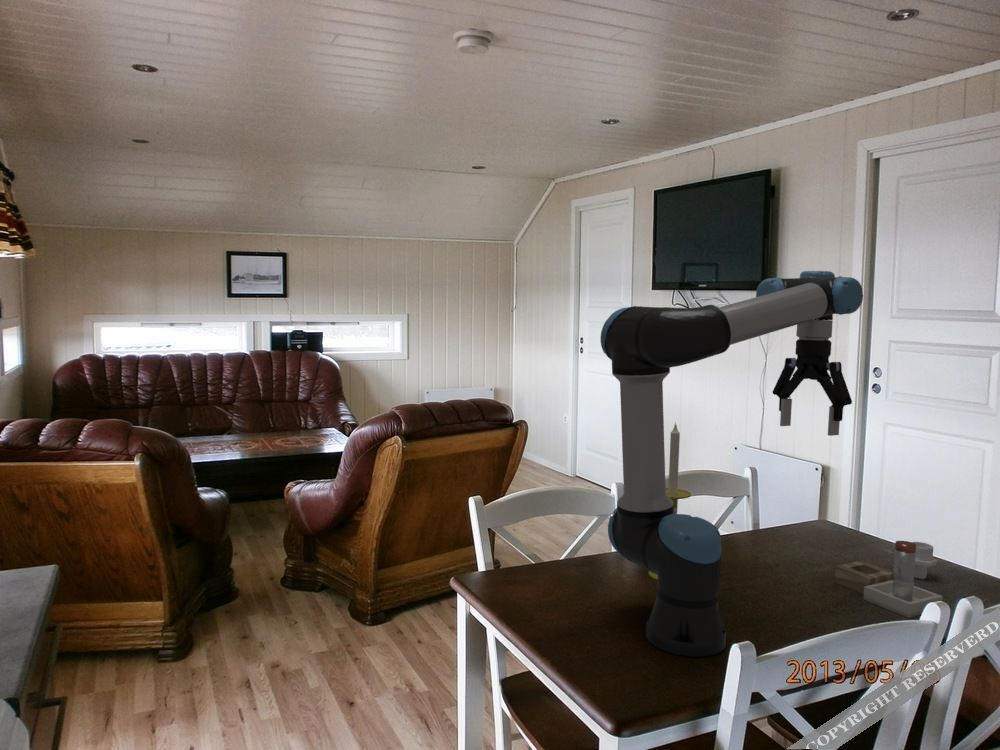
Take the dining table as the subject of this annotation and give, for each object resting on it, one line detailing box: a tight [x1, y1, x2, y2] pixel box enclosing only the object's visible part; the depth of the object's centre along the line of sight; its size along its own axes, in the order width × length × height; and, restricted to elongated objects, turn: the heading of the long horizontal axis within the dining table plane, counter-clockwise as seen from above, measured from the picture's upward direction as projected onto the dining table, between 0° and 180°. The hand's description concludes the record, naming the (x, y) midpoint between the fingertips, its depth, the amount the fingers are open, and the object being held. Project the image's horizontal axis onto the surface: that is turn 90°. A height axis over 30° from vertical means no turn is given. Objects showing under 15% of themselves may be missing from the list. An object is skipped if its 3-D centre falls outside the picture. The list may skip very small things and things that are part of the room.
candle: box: [648, 422, 692, 581], centre depth 179 cm, size 10×10×38 cm
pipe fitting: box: [911, 541, 938, 580], centre depth 182 cm, size 6×7×8 cm
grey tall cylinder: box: [892, 540, 916, 602], centre depth 165 cm, size 4×4×13 cm
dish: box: [863, 580, 944, 619], centre depth 165 cm, size 11×11×3 cm
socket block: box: [834, 560, 894, 595], centre depth 176 cm, size 9×9×4 cm
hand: (808, 430), depth 173 cm, fingers open, 13 cm apart
